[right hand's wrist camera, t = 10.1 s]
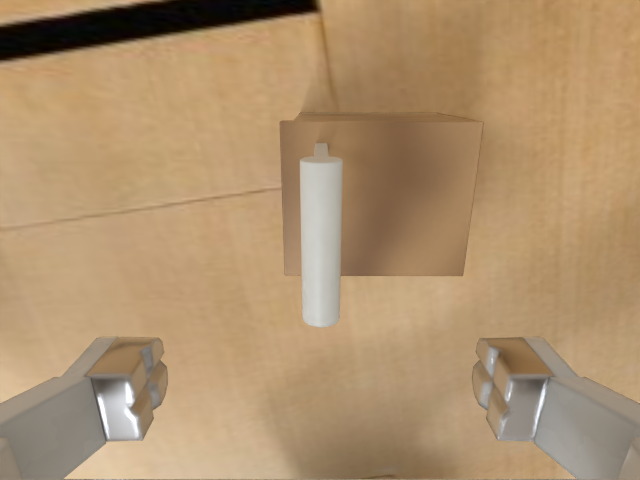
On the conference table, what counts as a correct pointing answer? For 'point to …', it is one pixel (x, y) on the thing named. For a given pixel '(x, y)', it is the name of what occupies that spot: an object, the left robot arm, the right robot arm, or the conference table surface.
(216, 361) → the conference table surface
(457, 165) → the lid
